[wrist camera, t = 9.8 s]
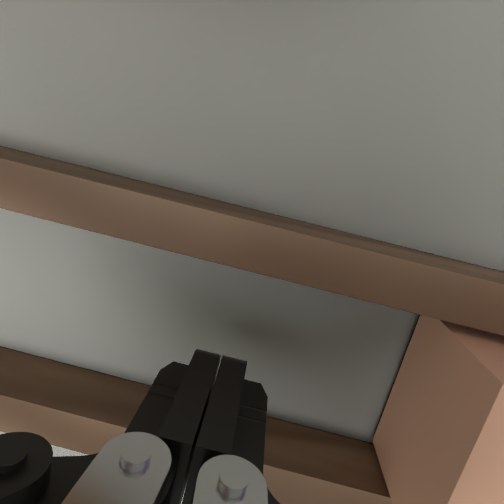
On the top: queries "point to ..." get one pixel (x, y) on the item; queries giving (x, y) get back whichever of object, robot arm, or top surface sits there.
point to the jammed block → (445, 418)
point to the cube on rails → (242, 257)
